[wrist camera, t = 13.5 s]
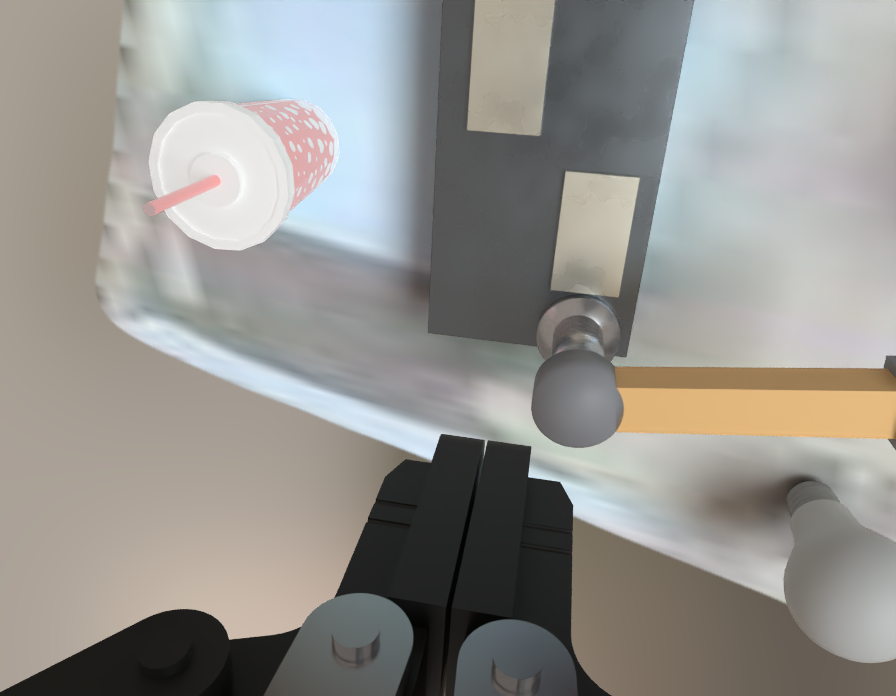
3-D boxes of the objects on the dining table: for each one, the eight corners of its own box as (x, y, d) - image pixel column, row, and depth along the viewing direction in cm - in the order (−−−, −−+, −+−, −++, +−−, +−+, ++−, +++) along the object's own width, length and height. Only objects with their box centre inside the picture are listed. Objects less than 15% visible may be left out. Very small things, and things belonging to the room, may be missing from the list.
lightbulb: (731, 471, 40) (780, 617, 30) (839, 429, 38) (929, 573, 28) (775, 545, 42) (835, 706, 32) (881, 509, 39) (980, 671, 30)
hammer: (923, 346, 26) (954, 376, 23) (904, 428, 27) (931, 462, 25) (533, 345, 28) (529, 372, 26) (535, 419, 30) (532, 450, 28)
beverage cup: (239, 186, 38) (71, 268, 25) (247, 69, 35) (62, 96, 22) (345, 213, 37) (227, 310, 25) (361, 98, 34) (238, 142, 22)
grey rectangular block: (461, -67, 30) (417, -99, 22) (691, -57, 29) (735, -87, 21) (441, 320, 39) (403, 402, 31) (618, 341, 38) (629, 433, 29)
